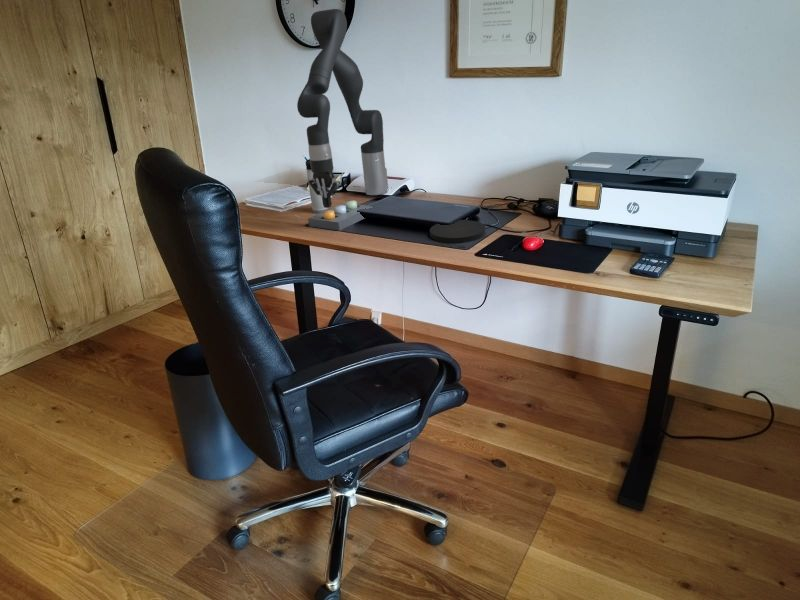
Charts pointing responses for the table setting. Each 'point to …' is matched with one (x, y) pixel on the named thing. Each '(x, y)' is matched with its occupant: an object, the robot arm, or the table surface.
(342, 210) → the blue-grey button
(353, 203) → the sage button
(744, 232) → the table surface
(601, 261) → the table surface
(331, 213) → the orange button
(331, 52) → the robot arm
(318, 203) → the travel mug
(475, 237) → the wireless charger
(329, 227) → the button panel
